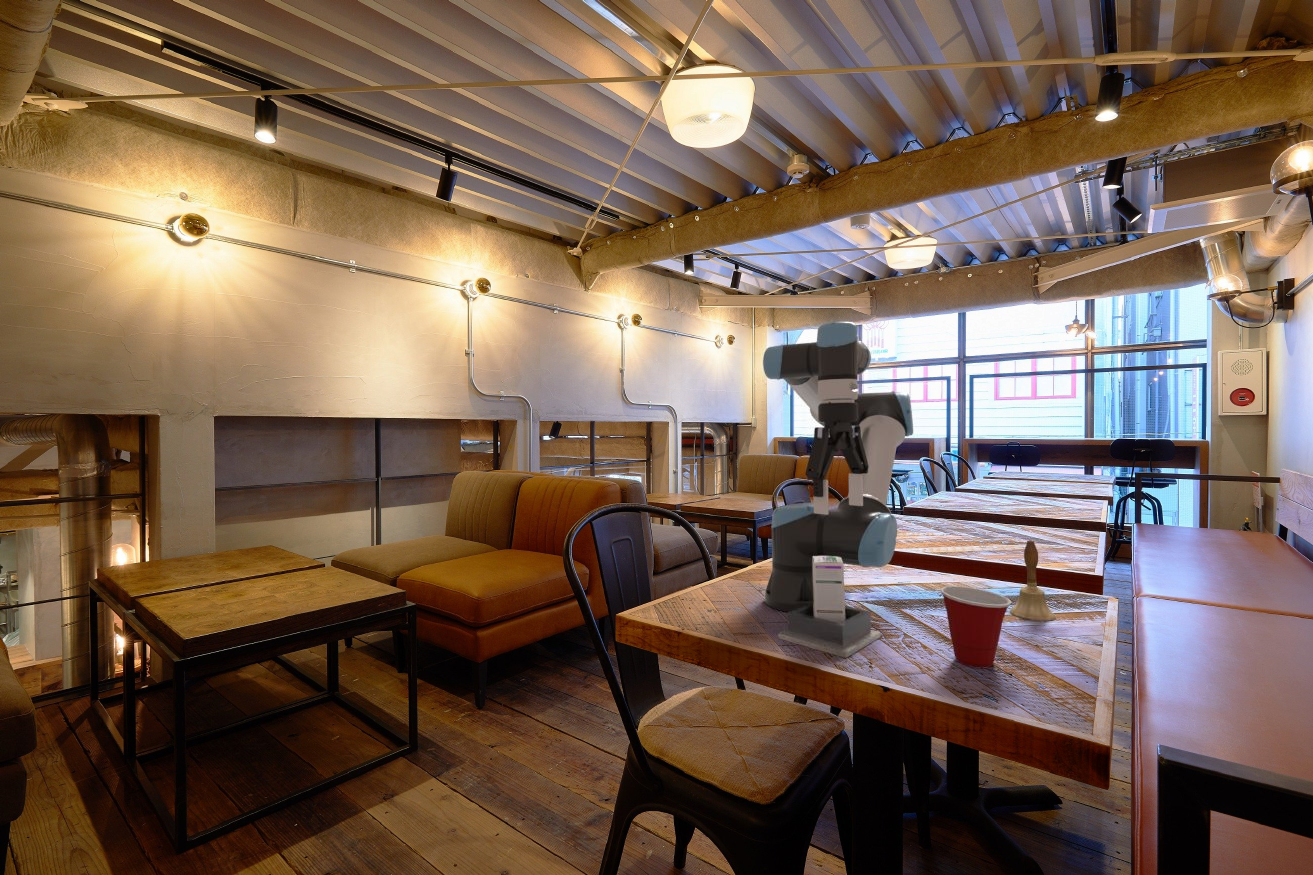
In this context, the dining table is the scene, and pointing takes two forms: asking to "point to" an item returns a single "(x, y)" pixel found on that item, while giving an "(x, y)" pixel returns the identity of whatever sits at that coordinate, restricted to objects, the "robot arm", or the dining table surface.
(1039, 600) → the hand bell
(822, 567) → the syrup box
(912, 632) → the dining table surface
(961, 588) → the plastic cup
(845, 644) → the grey shallow open box
